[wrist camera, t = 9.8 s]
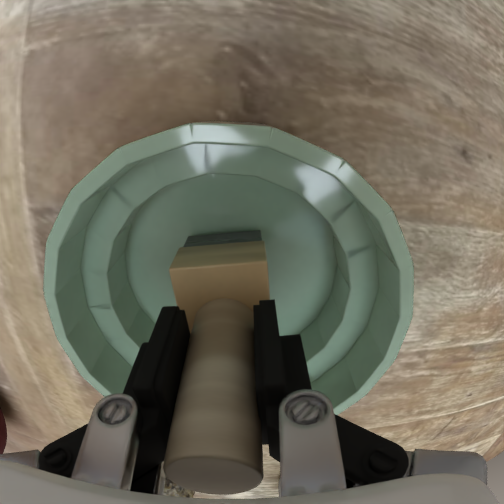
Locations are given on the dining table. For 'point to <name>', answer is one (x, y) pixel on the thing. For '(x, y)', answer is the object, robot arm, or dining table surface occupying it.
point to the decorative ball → (2, 432)
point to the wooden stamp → (218, 364)
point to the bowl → (225, 221)
